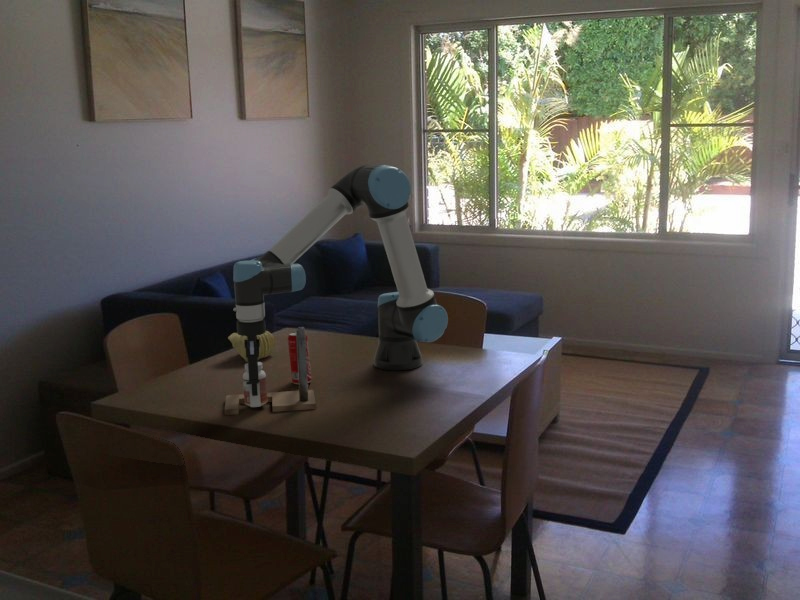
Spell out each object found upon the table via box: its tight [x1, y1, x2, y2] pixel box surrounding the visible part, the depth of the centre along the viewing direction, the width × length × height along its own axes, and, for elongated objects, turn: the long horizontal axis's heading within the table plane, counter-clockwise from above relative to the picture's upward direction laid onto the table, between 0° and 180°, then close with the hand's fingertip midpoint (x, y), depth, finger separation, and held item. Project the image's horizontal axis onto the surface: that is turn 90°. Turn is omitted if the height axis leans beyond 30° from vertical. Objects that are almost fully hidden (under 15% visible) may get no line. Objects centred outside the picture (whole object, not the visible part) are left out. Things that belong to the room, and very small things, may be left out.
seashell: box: [227, 330, 276, 363], centre depth 294 cm, size 17×11×15 cm
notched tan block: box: [224, 389, 317, 416], centre depth 244 cm, size 24×13×2 cm, turn 98°
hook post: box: [295, 326, 309, 402], centre depth 238 cm, size 2×8×23 cm, turn 8°
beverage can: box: [287, 331, 313, 385], centre depth 264 cm, size 6×6×15 cm
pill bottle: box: [242, 361, 268, 407], centre depth 241 cm, size 6×6×11 cm
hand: (255, 402), depth 242 cm, fingers closed on pill bottle, 6 cm apart
